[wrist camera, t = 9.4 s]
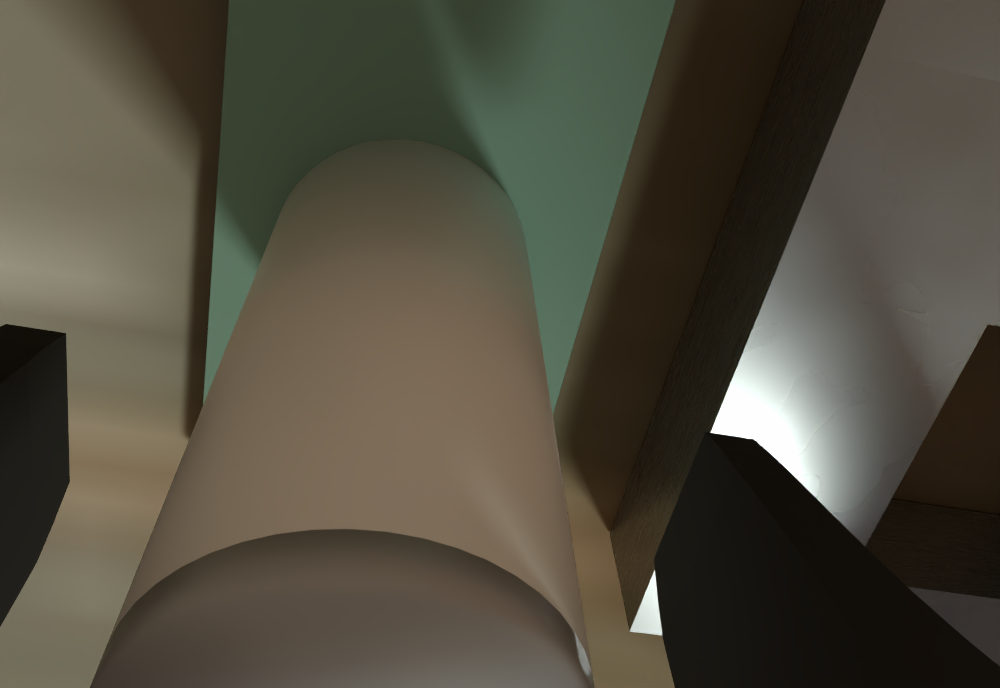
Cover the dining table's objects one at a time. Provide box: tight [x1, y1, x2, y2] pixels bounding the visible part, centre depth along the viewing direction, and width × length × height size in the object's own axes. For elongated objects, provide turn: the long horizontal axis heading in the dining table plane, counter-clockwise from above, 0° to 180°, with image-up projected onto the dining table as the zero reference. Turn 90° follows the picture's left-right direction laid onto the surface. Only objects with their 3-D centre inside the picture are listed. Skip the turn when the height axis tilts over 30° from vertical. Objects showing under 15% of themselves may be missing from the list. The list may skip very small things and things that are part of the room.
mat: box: [203, 0, 676, 415], centre depth 15 cm, size 10×6×1 cm, turn 168°
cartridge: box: [90, 139, 594, 688], centre depth 11 cm, size 4×4×9 cm
